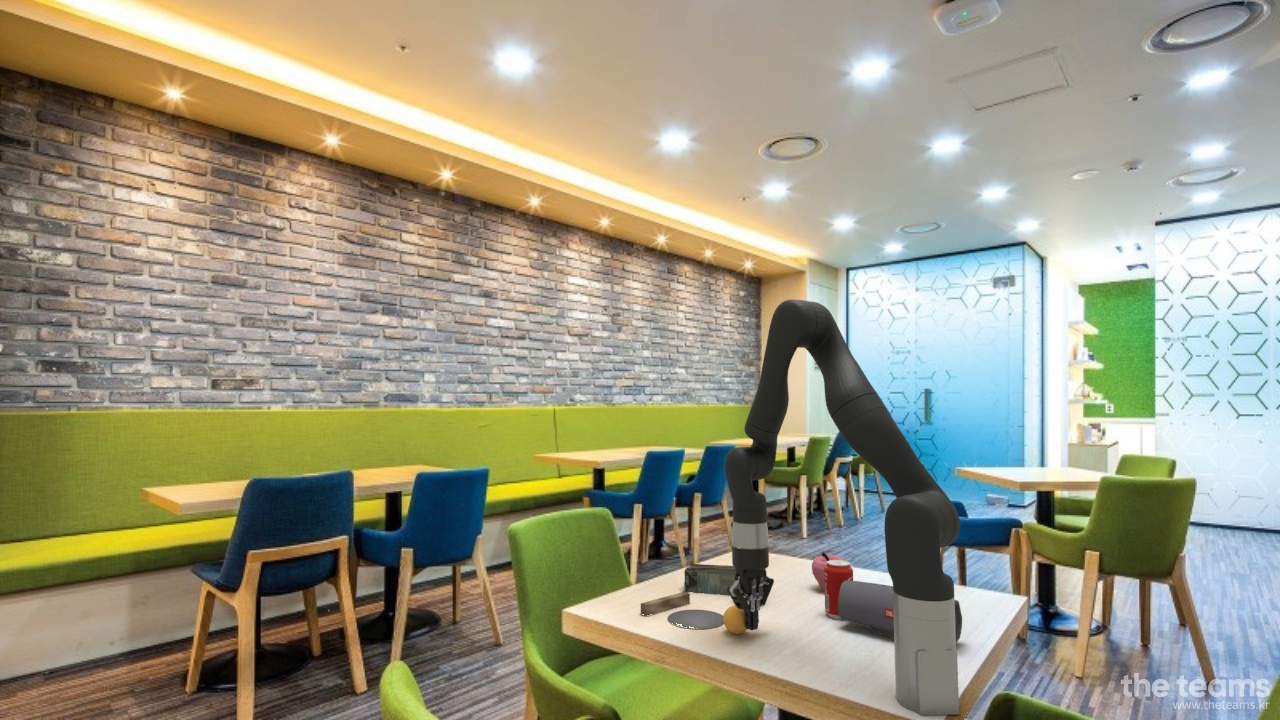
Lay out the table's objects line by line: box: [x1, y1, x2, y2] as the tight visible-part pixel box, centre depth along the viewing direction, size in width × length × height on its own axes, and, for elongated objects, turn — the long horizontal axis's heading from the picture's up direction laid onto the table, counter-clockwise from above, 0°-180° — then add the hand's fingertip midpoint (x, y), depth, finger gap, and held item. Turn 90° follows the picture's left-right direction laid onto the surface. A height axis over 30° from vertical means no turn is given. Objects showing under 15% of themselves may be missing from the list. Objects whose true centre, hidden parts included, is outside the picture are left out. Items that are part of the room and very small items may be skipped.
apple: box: [811, 551, 845, 592], centre depth 169 cm, size 10×9×10 cm
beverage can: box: [824, 560, 854, 620], centre depth 149 cm, size 6×6×12 cm
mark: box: [667, 609, 724, 630], centre depth 147 cm, size 13×13×1 cm
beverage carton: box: [683, 563, 736, 596], centre depth 170 cm, size 8×19×7 cm, turn 75°
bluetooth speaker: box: [837, 580, 963, 644], centre depth 137 cm, size 23×9×10 cm, turn 49°
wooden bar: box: [640, 591, 691, 617], centre depth 155 cm, size 14×2×2 cm, turn 131°
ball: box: [723, 604, 748, 635], centre depth 139 cm, size 6×6×6 cm
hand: (751, 628), depth 136 cm, fingers closed
